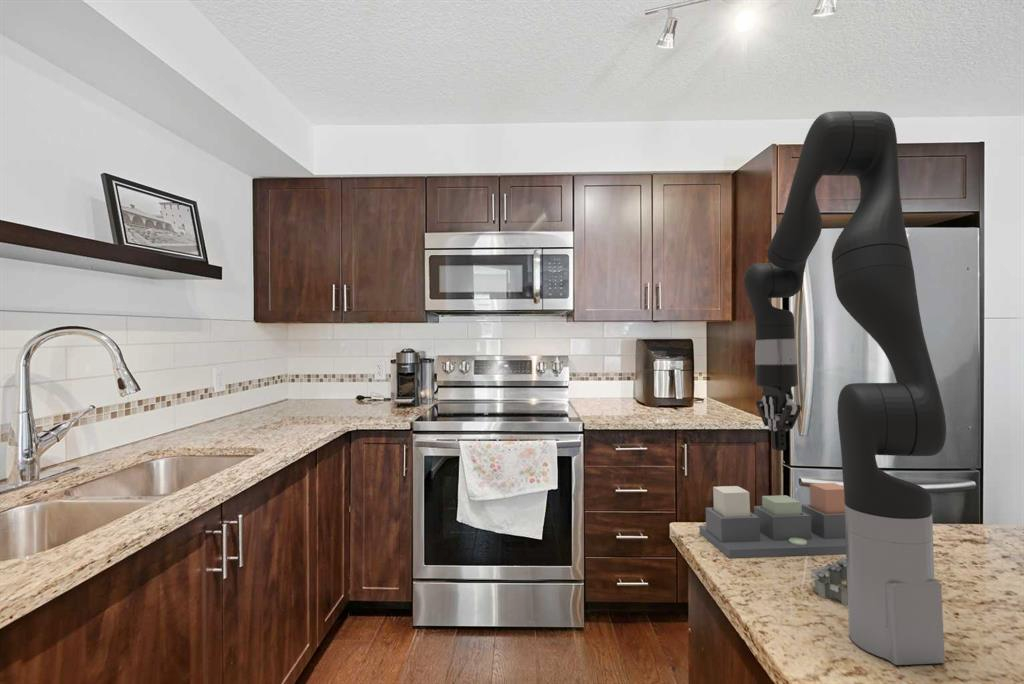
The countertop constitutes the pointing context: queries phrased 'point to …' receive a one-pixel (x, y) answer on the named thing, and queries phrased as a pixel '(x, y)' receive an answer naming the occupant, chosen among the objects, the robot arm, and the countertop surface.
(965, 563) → the countertop surface
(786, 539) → the key panel
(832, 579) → the grey ruined fortress
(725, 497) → the cream key
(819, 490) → the terracotta key
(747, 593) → the countertop surface
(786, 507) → the sage key
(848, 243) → the robot arm
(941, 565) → the countertop surface
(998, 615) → the countertop surface
